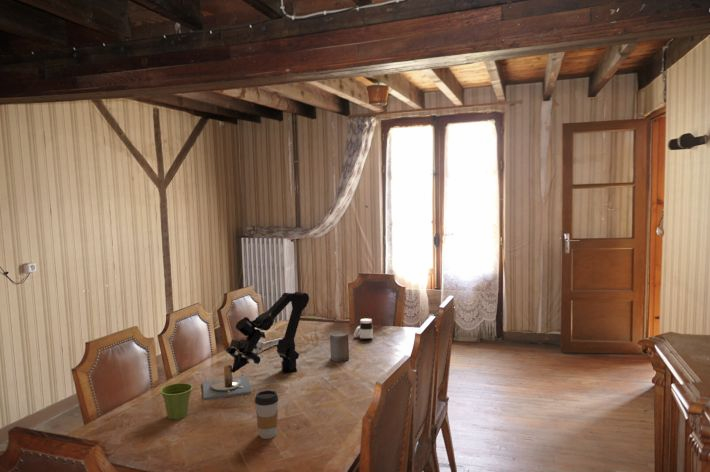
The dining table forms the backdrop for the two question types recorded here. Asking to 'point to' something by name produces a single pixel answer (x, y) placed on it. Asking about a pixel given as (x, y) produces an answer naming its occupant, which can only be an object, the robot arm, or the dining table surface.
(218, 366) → the dining table surface
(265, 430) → the coffee cup
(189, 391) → the plant pot
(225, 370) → the dial
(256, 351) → the wrench
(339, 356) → the pillar candle
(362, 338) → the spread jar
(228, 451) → the dining table surface
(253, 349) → the robot arm
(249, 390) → the dial board
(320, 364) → the dining table surface
